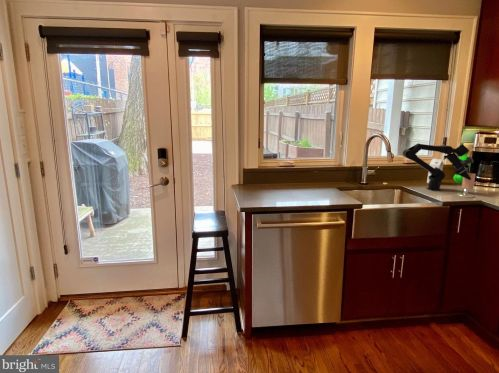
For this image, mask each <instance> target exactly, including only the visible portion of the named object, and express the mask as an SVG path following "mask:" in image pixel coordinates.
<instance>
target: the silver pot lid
mask: <svg viewBox="0 0 499 373" xmlns="http://www.w3.org/2000/svg"><path fill="white" fill-rule="evenodd" d="M469 190H470V189H467V188H463V192H457V193H456V196H458V197H462V198H467V199H468V198H470V199H473V198H474V197H475V195H474V194H471V193H469Z"/></svg>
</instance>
